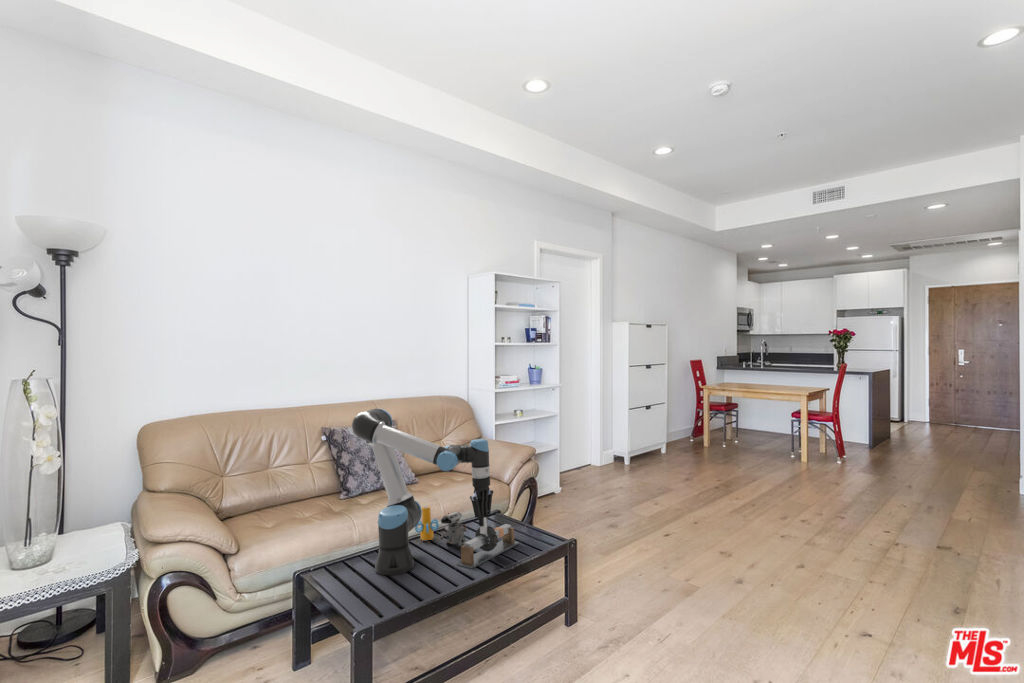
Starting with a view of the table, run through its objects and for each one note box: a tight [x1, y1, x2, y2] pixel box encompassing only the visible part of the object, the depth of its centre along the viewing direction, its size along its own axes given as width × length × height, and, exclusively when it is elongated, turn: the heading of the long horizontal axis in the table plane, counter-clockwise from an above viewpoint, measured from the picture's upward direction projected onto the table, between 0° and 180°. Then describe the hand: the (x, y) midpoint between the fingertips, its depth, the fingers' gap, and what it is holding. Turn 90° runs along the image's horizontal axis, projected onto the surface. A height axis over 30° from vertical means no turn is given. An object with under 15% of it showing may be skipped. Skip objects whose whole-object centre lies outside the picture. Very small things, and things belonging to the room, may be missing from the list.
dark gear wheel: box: [475, 524, 499, 552], centre depth 218 cm, size 2×10×10 cm, turn 54°
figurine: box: [440, 511, 467, 550], centre depth 228 cm, size 9×12×15 cm
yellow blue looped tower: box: [414, 505, 440, 540], centre depth 241 cm, size 12×10×15 cm
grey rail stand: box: [456, 523, 519, 569], centre depth 219 cm, size 32×8×9 cm, turn 144°
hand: (483, 533), depth 216 cm, fingers closed
